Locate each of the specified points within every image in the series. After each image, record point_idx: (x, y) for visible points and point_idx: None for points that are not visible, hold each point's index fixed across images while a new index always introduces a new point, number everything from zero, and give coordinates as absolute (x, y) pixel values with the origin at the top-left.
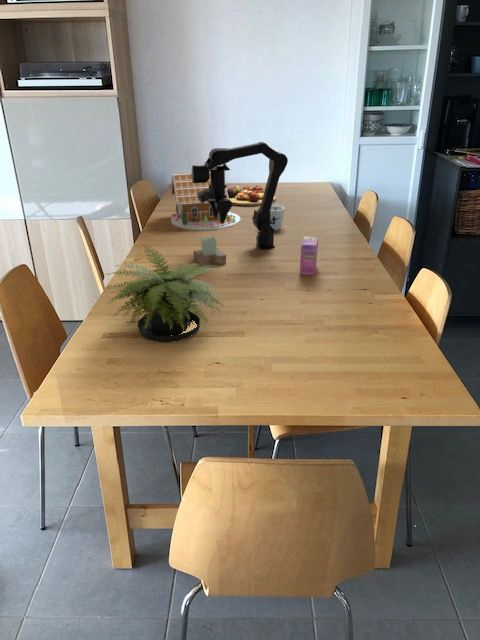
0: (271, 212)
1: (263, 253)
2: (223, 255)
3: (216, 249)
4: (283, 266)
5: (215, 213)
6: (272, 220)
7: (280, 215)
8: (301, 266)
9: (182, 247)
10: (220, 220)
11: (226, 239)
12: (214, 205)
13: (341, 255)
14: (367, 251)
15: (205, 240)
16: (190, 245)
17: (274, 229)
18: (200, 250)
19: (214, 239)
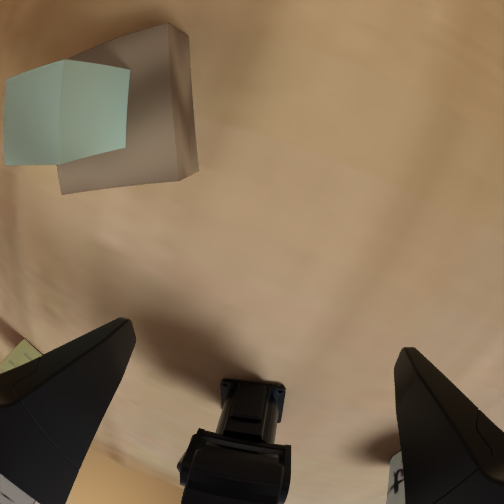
0: (401, 502)
1: (176, 363)
2: (59, 182)
3: (145, 169)
4: (61, 342)
5: (411, 396)
6: (399, 480)
7: (386, 501)
8: (12, 351)
9: (429, 41)
10: (96, 331)
11: (435, 314)
12: (452, 490)
13: (135, 452)
14: (154, 477)
15: (11, 93)
16: (448, 97)
17: (394, 457)
18: (160, 65)
19: (14, 158)
